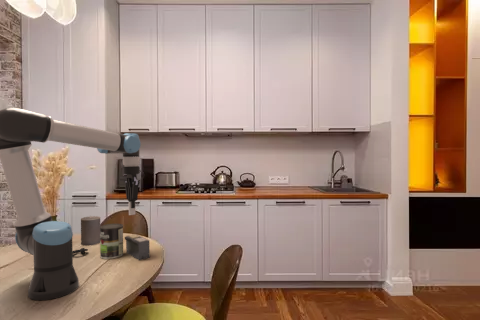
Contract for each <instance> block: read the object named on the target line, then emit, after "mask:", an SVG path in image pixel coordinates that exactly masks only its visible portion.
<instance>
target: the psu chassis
mask: <svg viewBox="0 0 480 320" xmlns="http://www.w3.org/2000/svg"><path fill="white" fill-rule="evenodd" d="M124 240H125V245H126V246H125V247H126V249H125V250H126V252H125V253H126V254H128V255H129V256H132V258H134V259H136V260H138V261H142V260H146V259H150V257H151V256H150V255H151V254H150V240H149V239H147V238H145V237H143V236H140V235H138V234H136V233H135V234H129V235H126V236H124Z"/></svg>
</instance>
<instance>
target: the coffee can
mask: <svg viewBox="0 0 480 320" xmlns="http://www.w3.org/2000/svg"><path fill="white" fill-rule="evenodd" d="M99 246H100V247H99V252H100V253H99V254H100V255H99V257H100V259H104V260H109V259H110V260H111V259H118V258H120V257H122V256H124V224H122V223H107V224H103V225H100V243H99Z"/></svg>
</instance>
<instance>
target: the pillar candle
mask: <svg viewBox="0 0 480 320" xmlns="http://www.w3.org/2000/svg"><path fill="white" fill-rule="evenodd" d="M100 226H101V217H100V216H98V215H96V216H95V215H89V216H85V217H81V218H80V244H81V245H82V246H93V245H97V244H100Z"/></svg>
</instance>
